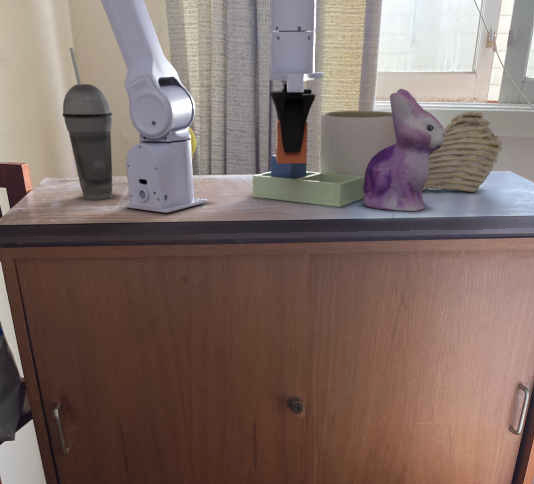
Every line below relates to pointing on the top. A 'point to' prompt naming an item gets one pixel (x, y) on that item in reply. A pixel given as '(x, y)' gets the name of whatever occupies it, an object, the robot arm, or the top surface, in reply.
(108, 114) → the beverage cup
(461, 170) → the fossil tooth
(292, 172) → the blue block
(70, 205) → the top surface
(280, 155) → the terracotta block
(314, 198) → the tray
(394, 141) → the planter
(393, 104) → the figurine
